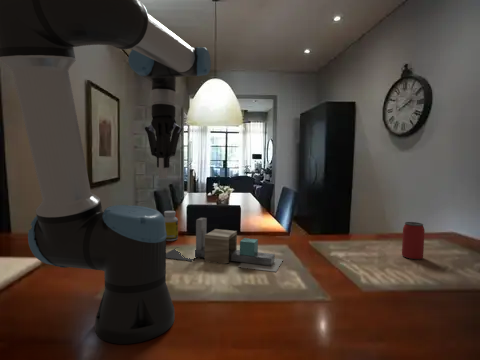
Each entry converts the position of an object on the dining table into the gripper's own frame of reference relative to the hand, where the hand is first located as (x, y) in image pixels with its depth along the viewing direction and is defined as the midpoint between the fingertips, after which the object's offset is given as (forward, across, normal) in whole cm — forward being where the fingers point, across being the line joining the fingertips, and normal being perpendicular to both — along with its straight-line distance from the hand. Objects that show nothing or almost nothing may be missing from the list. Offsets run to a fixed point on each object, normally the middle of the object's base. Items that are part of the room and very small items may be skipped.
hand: (163, 177), depth 102 cm
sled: (+26, -22, -8) cm, 35 cm away
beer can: (+27, -79, -34) cm, 90 cm away
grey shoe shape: (+27, -4, -8) cm, 28 cm away
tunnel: (+27, -18, -8) cm, 33 cm away
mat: (+27, -32, -8) cm, 42 cm away
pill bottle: (+27, +12, -23) cm, 37 cm away
